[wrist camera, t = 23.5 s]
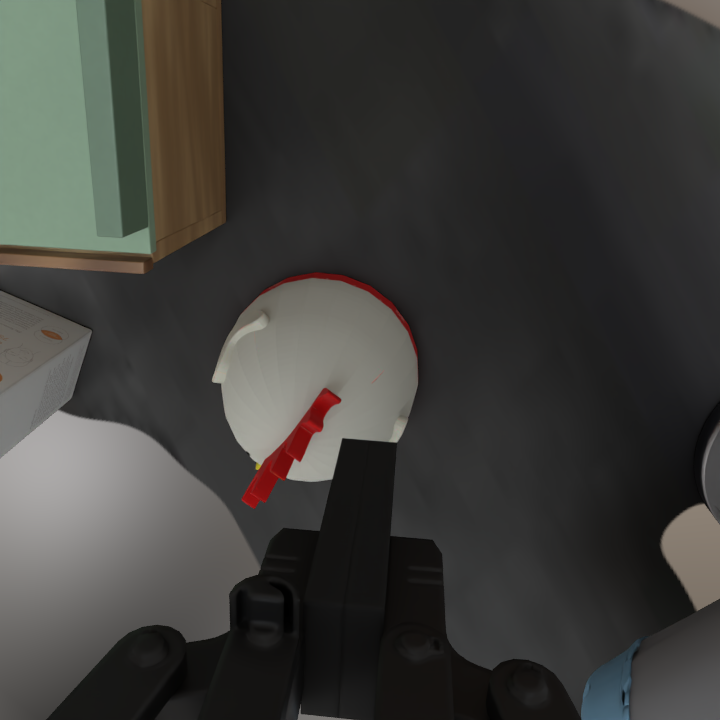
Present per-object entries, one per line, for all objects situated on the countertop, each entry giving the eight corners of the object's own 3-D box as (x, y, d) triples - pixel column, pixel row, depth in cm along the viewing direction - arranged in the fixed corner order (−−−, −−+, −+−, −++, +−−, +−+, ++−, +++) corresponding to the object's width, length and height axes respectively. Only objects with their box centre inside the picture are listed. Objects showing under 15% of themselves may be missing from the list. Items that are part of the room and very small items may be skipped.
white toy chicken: (195, 377, 50) (108, 479, 36) (301, 232, 46) (249, 285, 32) (342, 482, 52) (314, 617, 38) (457, 353, 48) (473, 453, 34)
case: (220, -12, 41) (121, -74, 27) (226, 226, 46) (144, 274, 32) (1, -20, 42) (-203, -85, 28) (30, 214, 47) (-131, 256, 33)
